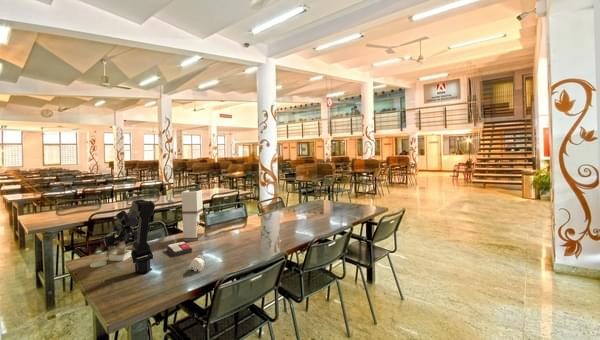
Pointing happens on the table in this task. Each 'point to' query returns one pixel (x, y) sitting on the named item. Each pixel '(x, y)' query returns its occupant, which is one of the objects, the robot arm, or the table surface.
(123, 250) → the peg
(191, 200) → the tall white pillar
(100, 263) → the coaster
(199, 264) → the white rounded lump
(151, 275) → the table surface
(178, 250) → the calculator
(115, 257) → the pocket
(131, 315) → the table surface
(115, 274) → the table surface
